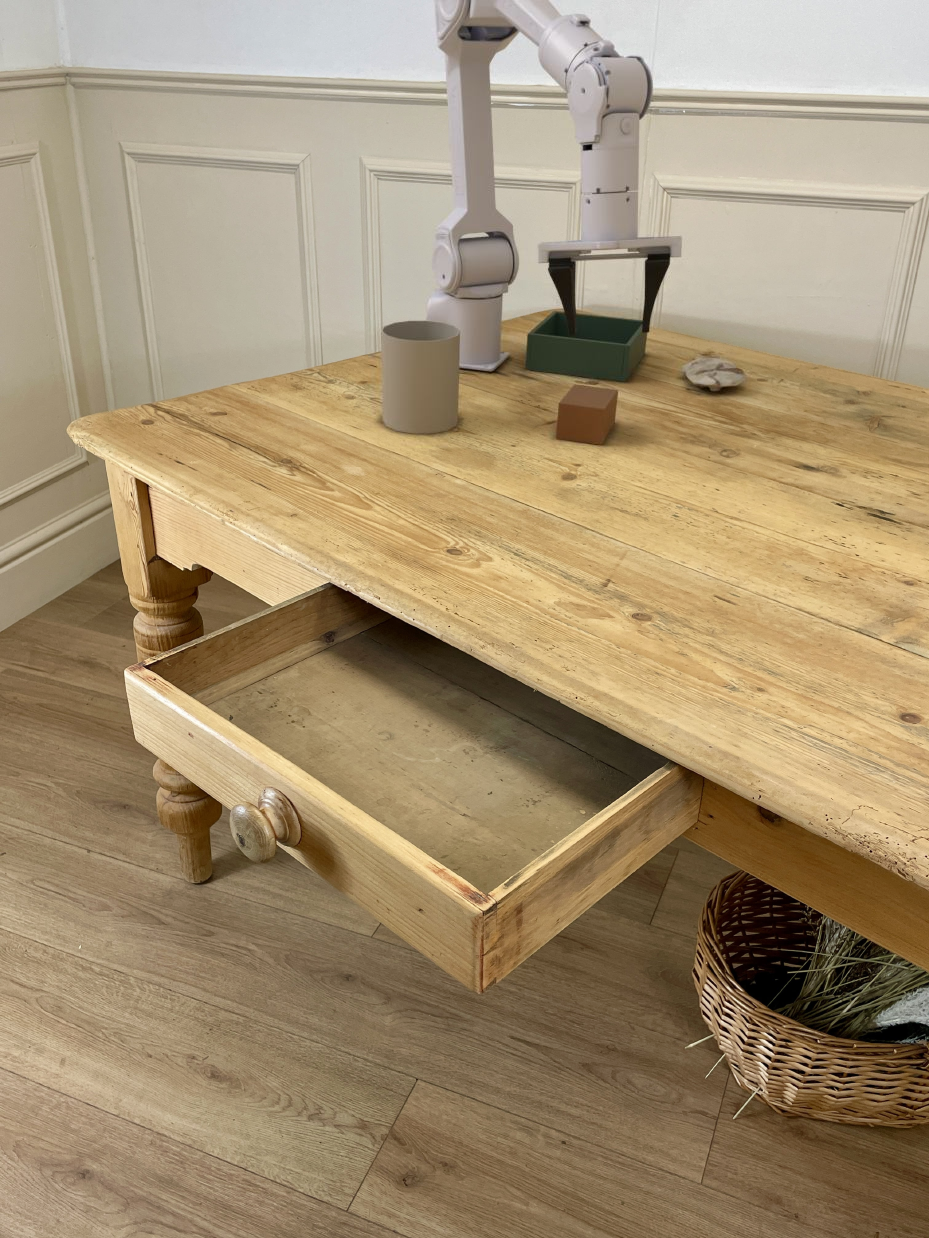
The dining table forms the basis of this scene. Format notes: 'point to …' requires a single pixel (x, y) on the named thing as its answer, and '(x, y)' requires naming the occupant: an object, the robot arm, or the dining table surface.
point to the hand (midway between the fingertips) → (608, 332)
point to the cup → (420, 376)
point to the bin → (586, 346)
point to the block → (586, 414)
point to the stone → (713, 372)
